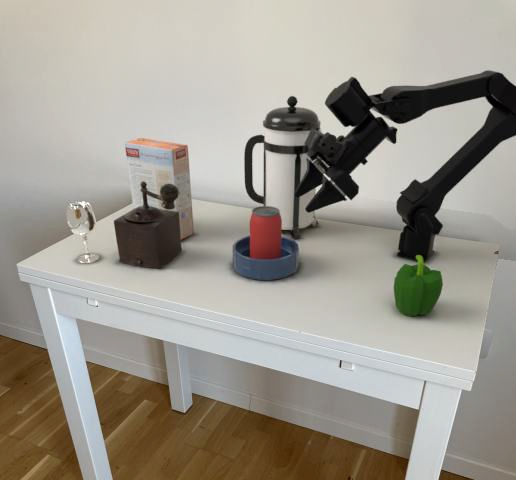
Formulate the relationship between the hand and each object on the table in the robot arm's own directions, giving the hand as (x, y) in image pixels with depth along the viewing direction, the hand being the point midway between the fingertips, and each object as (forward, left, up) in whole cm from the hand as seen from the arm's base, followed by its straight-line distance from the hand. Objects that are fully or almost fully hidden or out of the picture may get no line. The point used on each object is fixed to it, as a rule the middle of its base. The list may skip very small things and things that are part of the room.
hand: (300, 203), depth 109 cm
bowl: (+5, +5, -13) cm, 15 cm away
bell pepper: (-28, +5, -13) cm, 31 cm away
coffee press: (+14, -16, -13) cm, 25 cm away
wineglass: (+39, +24, -13) cm, 48 cm away
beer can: (+5, +5, -13) cm, 15 cm away
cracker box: (+36, +3, -13) cm, 39 cm away
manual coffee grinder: (+26, +15, -13) cm, 33 cm away
